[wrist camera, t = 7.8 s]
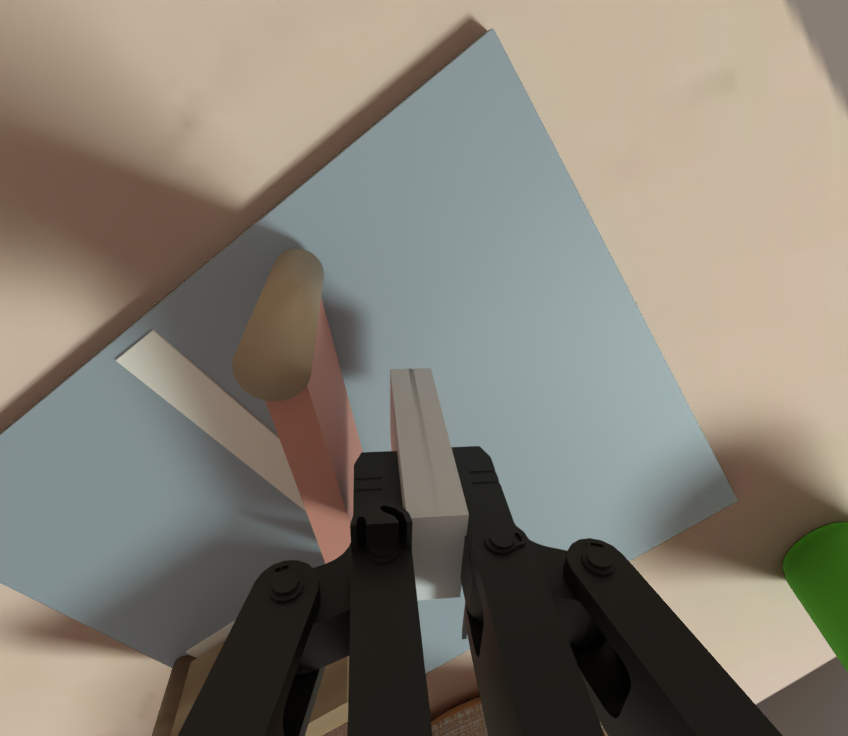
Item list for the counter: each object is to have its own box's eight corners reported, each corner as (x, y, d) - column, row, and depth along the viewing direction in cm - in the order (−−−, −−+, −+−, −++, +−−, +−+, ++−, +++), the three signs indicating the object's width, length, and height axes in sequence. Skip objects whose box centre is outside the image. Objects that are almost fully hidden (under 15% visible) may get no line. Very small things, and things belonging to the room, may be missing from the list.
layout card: (-100, 516, 20) (-114, 529, 19) (488, 30, 15) (494, 27, 14) (312, 726, 31) (311, 738, 30) (730, 492, 26) (739, 502, 25)
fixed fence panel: (170, 653, 26) (110, 842, 19) (381, 519, 23) (394, 684, 17) (194, 666, 27) (145, 851, 20) (401, 537, 24) (422, 702, 18)
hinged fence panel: (391, 530, 22) (405, 678, 16) (355, 537, 22) (357, 688, 16) (316, 244, 16) (299, 327, 10) (266, 253, 16) (220, 342, 10)
